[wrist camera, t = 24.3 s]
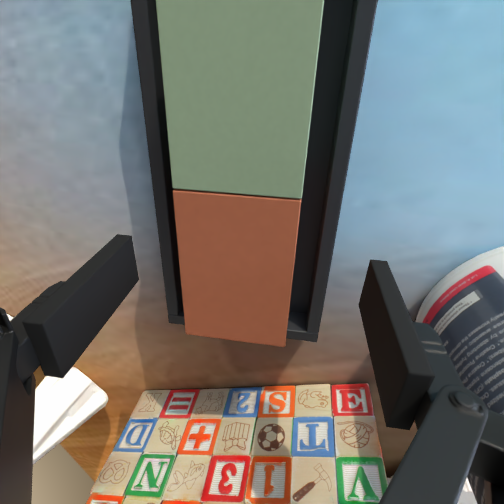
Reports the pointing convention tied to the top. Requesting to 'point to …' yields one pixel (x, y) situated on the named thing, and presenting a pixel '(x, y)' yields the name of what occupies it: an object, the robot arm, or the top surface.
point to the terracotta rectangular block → (236, 264)
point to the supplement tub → (473, 330)
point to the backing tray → (317, 161)
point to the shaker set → (63, 408)
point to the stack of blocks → (247, 448)
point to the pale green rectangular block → (239, 92)
